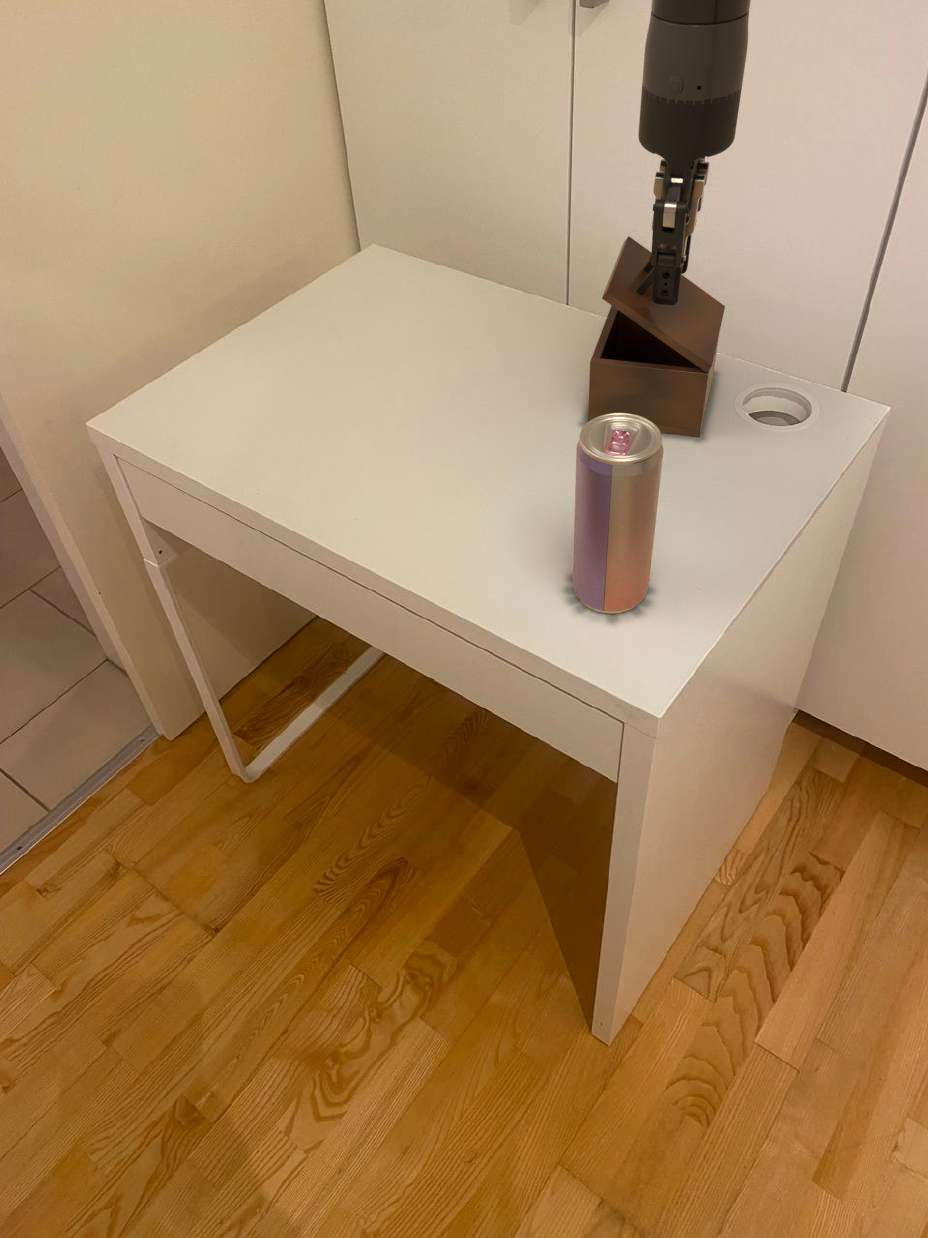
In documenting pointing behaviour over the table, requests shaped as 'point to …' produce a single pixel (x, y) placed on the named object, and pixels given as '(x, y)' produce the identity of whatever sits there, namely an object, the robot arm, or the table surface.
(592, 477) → the beverage can
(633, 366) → the chest
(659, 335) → the lid
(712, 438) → the table surface
